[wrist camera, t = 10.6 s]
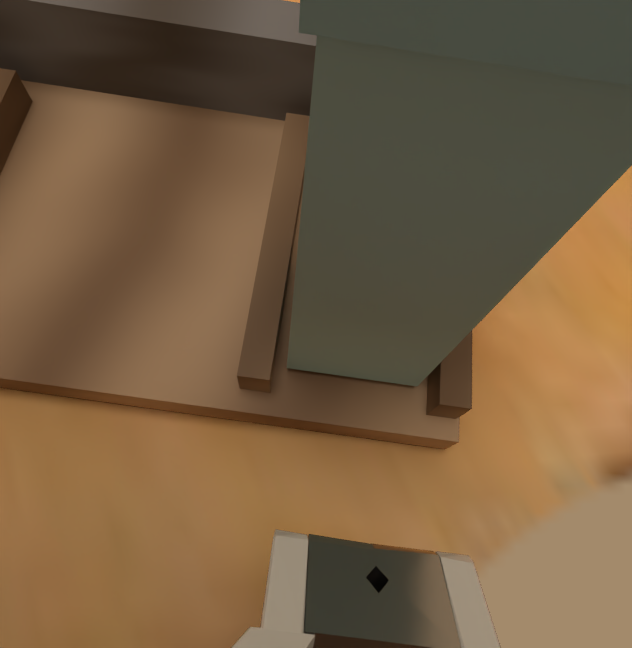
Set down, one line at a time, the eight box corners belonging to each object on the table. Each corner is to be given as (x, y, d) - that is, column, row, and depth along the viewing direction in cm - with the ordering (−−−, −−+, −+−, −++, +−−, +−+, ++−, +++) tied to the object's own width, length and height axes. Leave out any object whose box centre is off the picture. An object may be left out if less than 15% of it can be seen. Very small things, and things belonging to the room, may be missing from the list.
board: (-275, 349, 14) (-478, 279, 10) (-90, 39, 19) (-183, -89, 15) (444, 449, 15) (506, 417, 11) (453, 123, 19) (498, 21, 16)
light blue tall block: (280, 372, 14) (303, -68, 4) (299, 248, 15) (353, -307, 5) (422, 392, 14) (817, 17, 4) (428, 267, 15) (724, -243, 5)
